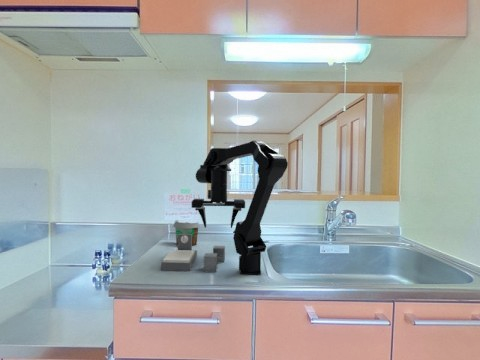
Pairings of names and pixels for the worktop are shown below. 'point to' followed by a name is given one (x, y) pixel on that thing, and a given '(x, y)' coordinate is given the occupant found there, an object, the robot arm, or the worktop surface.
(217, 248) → the block
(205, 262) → the block
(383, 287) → the worktop surface
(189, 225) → the food container
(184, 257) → the scale
